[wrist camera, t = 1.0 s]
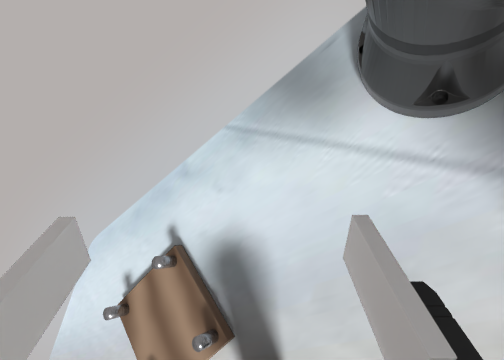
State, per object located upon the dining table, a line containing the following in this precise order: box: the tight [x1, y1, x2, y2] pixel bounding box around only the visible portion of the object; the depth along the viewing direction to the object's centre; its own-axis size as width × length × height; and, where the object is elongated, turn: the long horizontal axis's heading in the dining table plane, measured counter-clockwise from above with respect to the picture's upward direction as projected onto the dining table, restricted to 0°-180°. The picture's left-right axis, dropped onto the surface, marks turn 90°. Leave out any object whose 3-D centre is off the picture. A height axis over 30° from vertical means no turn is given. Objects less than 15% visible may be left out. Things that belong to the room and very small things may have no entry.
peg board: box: [103, 245, 234, 360], centre depth 37 cm, size 14×14×4 cm
